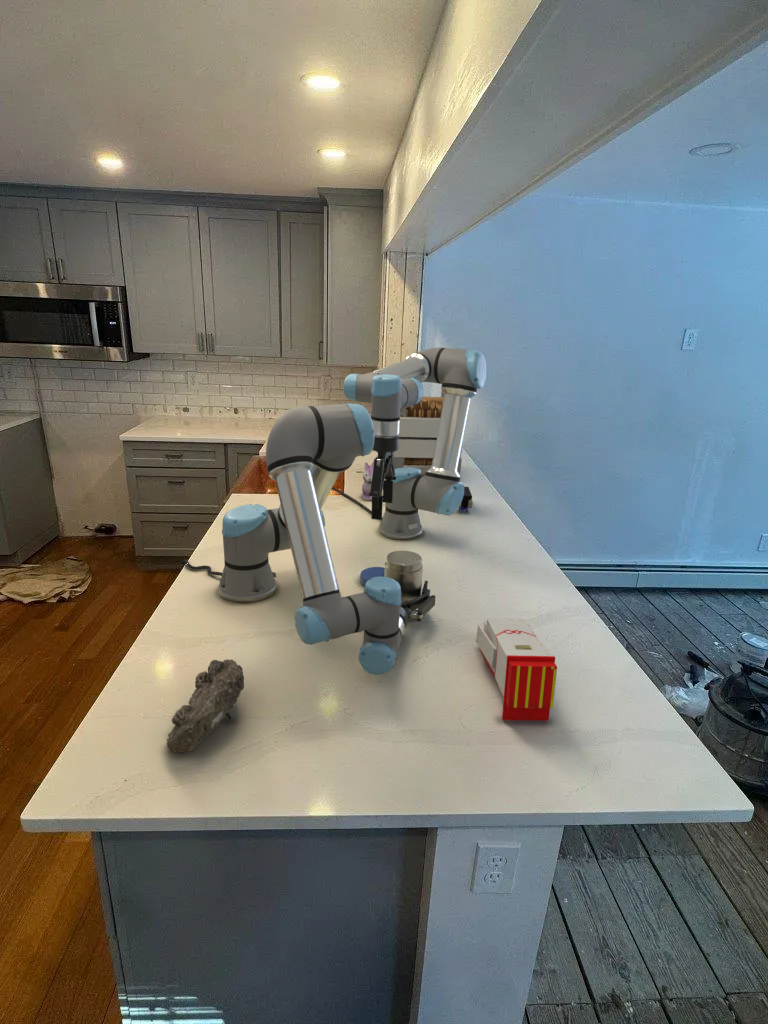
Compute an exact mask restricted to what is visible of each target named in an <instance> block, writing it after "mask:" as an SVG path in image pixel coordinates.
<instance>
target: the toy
mask: <svg viewBox="0 0 768 1024" xmlns="http://www.w3.org/2000/svg"><path fill="white" fill-rule="evenodd" d="M476 629H477V631H476V638H475V642H476V645H477V646H478V648H479V650H480V652H481V654H482V656H483V658H484V660H485V661H486V664H487V666H488V668H489V669H490V671H491V672H492V675H493V676H494V679H495V681H496V685H497V686H498V688H499V690H500V692H501V695H502V697H503V701H502V712H501V720H502V721H521V722H523V721H526V722H528V721H529V722H550V712H551V709H554V702H555V692H556V681H557V673H558V665H557V664H556V656H555V655H550V654H549V652H548V651H547V650H546V648H545V647H544V645H543V644H542V642H541V641H540V639H539V638H538V637H537V635H536V634H535V632H534V631H533V629H532V627H531V625H530V624H528V623H527V621H526V619H521V618H518V619H515V618H513V619H512V618H486V620H484V621H483V626H482V625H481V624H477V628H476Z"/></svg>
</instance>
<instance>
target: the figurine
mask: <svg viewBox="0 0 768 1024" xmlns="http://www.w3.org/2000/svg"><path fill="white" fill-rule="evenodd" d="M373 469H374V461H372V463H371V464H370V465H369V464H368V462H367V461H366V462H364V472H363V474H362V479H363V483H362V485H361V491H362V493H361V498H362V500H364V501H365V500H366V501H372V496H369V493H370V492H371V484H372V476H373ZM375 492H377V491H375Z"/></svg>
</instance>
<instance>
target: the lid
mask: <svg viewBox="0 0 768 1024" xmlns="http://www.w3.org/2000/svg"><path fill="white" fill-rule="evenodd" d="M384 573H385V566H371V567H367V568H364V569H363V570H361V572H360V575H359V582H360V583H359V584H360V585H361V586H362V587H364V588H365V584H366V582H367V581H368V580H370V579H371V578H374V577H382V576H383V575H384Z"/></svg>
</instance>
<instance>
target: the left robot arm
mask: <svg viewBox="0 0 768 1024" xmlns="http://www.w3.org/2000/svg"><path fill="white" fill-rule="evenodd" d="M373 447H374V428H373V423H372V420H371V415H370V413H369V411H368V410H367V408H366V407H365V406H364V405H362V404H359V403H348V402H345V403H335V404H334V403H333V404H319V405H318V404H317V405H299V406H295V407H292V408H290V409H287V410H286V411H285V412H284V413H282V414H281V415H280V416H279V417H278V419H276V420H275V422H274V424H273V426H272V428H271V430H270V432H269V434H268V437H267V442H266V446H265V464H266V469H267V474H268V477H269V478H270V479H272V480H274V483H275V485H276V490H277V494H278V499H279V503H280V505H279V506H278V507H276V508H270V509H267V507H266V506H264V505H262V504H258V503H256V504H251V503H250V504H243V505H239V506H236V507H234V508H232V509H230V510H228V511H227V512H226V513H225V514H224V515H223V517H222V529H221V534H222V543H223V546H222V547H223V559H224V568H223V570H222V572H221V571H213V570H212V567H211V566H210V565H198V566H194V565H192V564H191V563H190V562H189V560H187V559H183V560H182V561H181V562H180V564H182V565H184V564H185V565H186V564H187V563H188V564H187V565H186V566H187V567H188V568H189V569H190V570H193V571H197V570H207V574H209V575H211V576H219V577H220V581H219V583H218V593H219V596H220V597H221V598H223V599H224V600H226V601H229V602H233V603H239V604H240V603H242V604H246V603H247V604H248V603H255V602H259V601H263V600H266V599H268V598H269V597H271V596H273V594H274V593H275V592H276V590H277V581H276V578H277V573H276V571H275V572H274V571H273V570H272V567H271V566H270V562H269V554H271V553H275V552H281V551H286V550H291V551H290V552H291V554H292V559H293V563H294V567H295V572H296V576H297V582H298V585H299V590H300V594H301V597H302V603H303V605H302V606H300V607H298V608H297V609H296V611H295V614H294V620H295V623H294V625H295V630H296V632H297V635H298V637H299V639H300V640H301V641H302V642H303V644H305V645H310V646H312V645H315V644H320V643H327V642H330V641H331V640H335V639H340V638H343V637H345V636H349V635H353V634H357V633H361V632H363V640H362V645H361V647H360V648H359V653H358V662H359V664H360V666H361V668H362V669H363V670H364V671H365V672H366V673H368V674H371V675H374V676H383V675H386V674H387V673H389V672H390V671H391V670H392V669H393V667H394V665H395V663H396V661H397V656H398V653H399V649H400V646H401V642H402V639H403V638H404V637H403V636H404V633H405V631H406V628H407V625H408V621H410V620H409V619H410V618H415V619H416V622H418V623H419V622H420V623H421V622H422V621H423V618H424V617H425V616H426V614H428V612H430V611H431V610H432V609H433V608H434V607H435V606H436V598H437V597H436V595H435V594H432V595H431V589H430V588H429V587H428V586H429V585H428V584H429V580H424V583H423V586H422V588H421V595H420V596H418V597H416V598H414V599H412V600H410V601H408V600H407V601H405V602H403V603H401V587H400V584H399V583H398V582H397V581H395V580H394V579H392V578H389V577H384V575H383V576H382V577H374V578H371V579H370V580H368V581H367V582H366V584H365V587H364V588H363V592H360V593H355V594H350V595H347V596H343V597H342V595H341V591H340V587H339V583H338V578H337V574H336V571H335V565H334V561H333V557H332V554H331V549H330V545H329V541H328V538H327V534H326V533H327V532H326V529H325V527H326V520H325V516H324V515H325V514H324V512H323V510H322V508H323V506H324V504H325V502H326V500H327V499H328V496H329V495H330V493H331V491H332V490H333V489H332V487H334V485H335V483H336V482H337V479H338V478H339V476H340V474H341V473H343V472H345V471H347V470H349V469H350V468H351V467H352V465H353V463H354V462H355V460H356V458H357V457H366V456H368V455H370V454H371V453H372V452H373ZM428 588H429V589H428ZM414 610H416V611H414ZM412 611H414V612H412Z"/></svg>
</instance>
